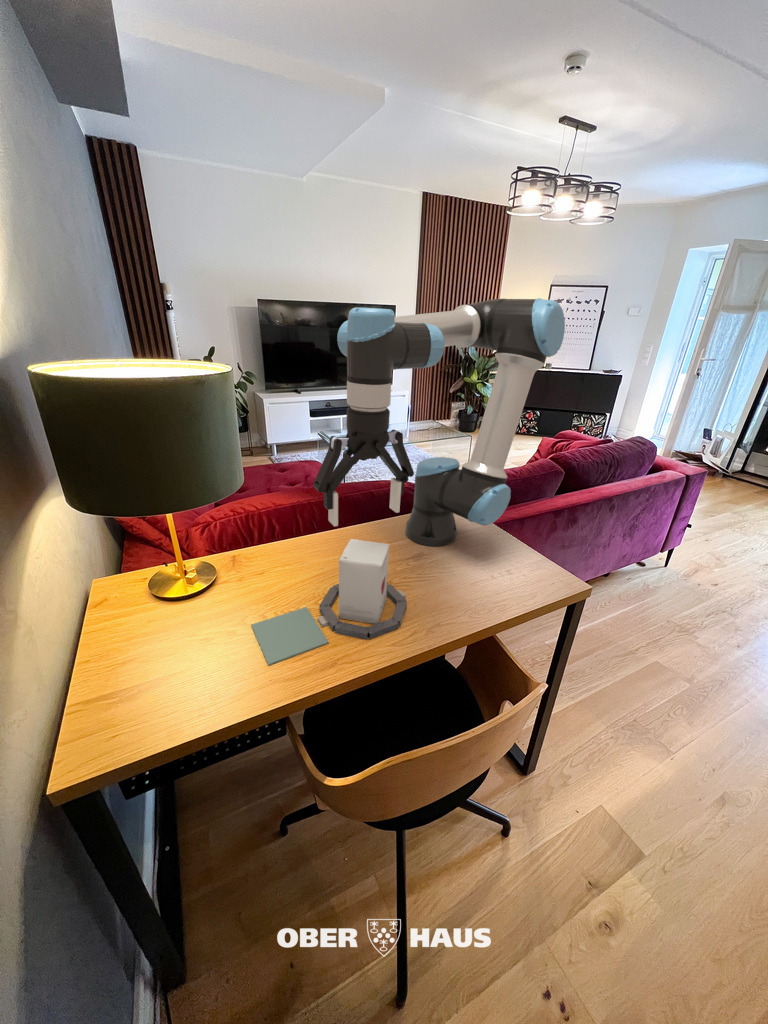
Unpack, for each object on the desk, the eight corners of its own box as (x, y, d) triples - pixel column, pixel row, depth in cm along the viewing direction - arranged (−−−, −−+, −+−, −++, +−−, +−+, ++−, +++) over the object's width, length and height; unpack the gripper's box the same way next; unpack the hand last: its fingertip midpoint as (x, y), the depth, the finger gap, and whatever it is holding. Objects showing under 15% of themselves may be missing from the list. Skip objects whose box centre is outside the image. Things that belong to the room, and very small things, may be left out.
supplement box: (379, 626, 86) (381, 566, 79) (338, 619, 87) (337, 559, 81) (387, 599, 94) (390, 543, 87) (349, 593, 95) (349, 537, 89)
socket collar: (383, 575, 102) (383, 570, 102) (425, 618, 89) (426, 612, 88) (304, 599, 92) (303, 594, 92) (338, 652, 79) (338, 646, 78)
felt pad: (306, 608, 90) (306, 606, 90) (328, 643, 81) (328, 641, 81) (251, 626, 84) (251, 624, 84) (268, 665, 75) (268, 664, 75)
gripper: (415, 399, 80) (407, 498, 89) (291, 407, 68) (297, 520, 77) (438, 406, 74) (427, 512, 83) (308, 417, 62) (312, 538, 71)
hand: (365, 516), depth 80 cm, fingers open, 13 cm apart
